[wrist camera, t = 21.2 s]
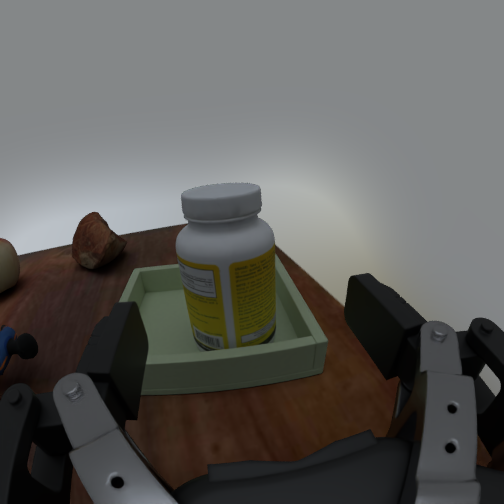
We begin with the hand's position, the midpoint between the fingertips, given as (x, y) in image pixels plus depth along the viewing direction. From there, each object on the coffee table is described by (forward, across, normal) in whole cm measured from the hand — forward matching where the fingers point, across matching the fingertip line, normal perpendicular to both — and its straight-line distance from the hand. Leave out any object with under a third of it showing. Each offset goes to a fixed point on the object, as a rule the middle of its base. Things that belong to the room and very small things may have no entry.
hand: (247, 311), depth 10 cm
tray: (+10, +2, +9) cm, 13 cm away
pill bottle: (+8, 0, +8) cm, 11 cm away
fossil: (+28, +18, +9) cm, 34 cm away
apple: (+20, +34, +9) cm, 41 cm away
